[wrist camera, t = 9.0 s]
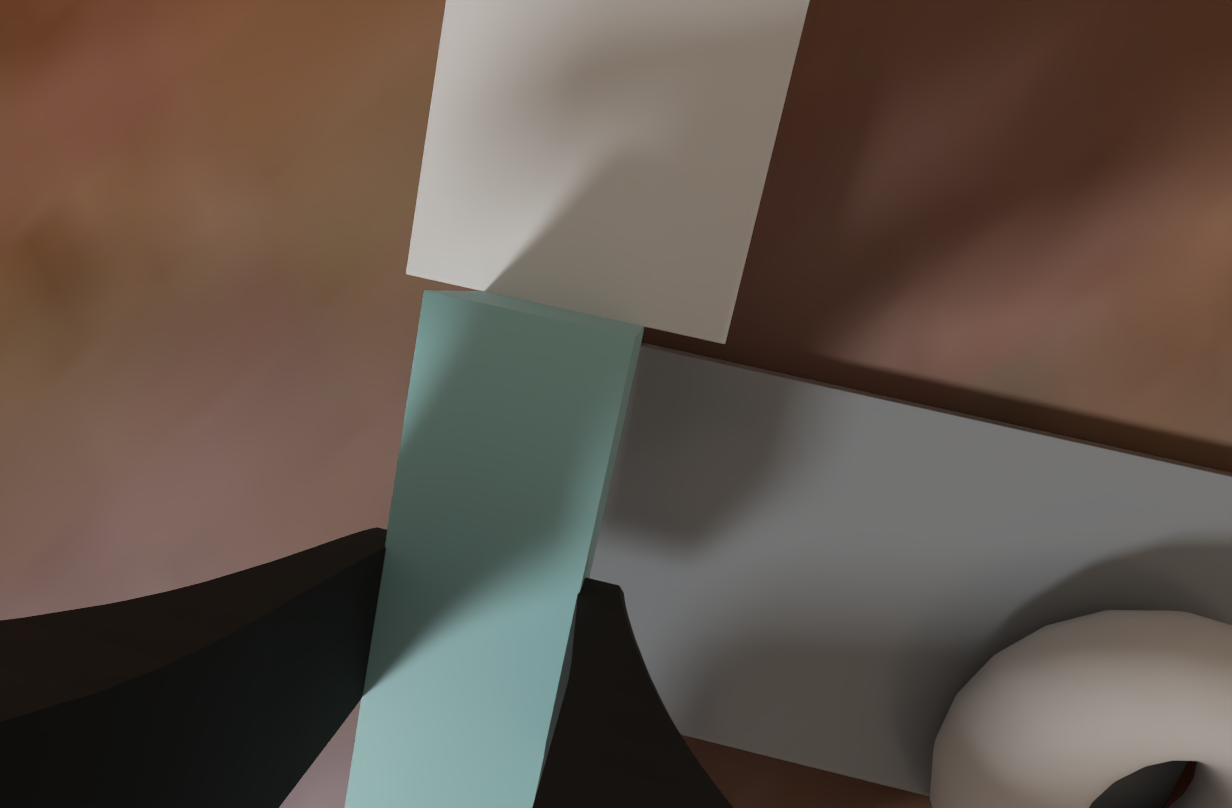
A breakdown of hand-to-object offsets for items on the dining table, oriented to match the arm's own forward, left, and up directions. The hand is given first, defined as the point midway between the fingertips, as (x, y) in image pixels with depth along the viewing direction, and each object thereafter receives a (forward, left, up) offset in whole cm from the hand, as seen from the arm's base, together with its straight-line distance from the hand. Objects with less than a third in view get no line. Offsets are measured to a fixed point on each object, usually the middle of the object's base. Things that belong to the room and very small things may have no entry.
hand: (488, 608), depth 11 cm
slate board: (-2, -8, -8) cm, 11 cm away
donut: (+1, -16, -5) cm, 17 cm away
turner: (+3, 0, -3) cm, 4 cm away
